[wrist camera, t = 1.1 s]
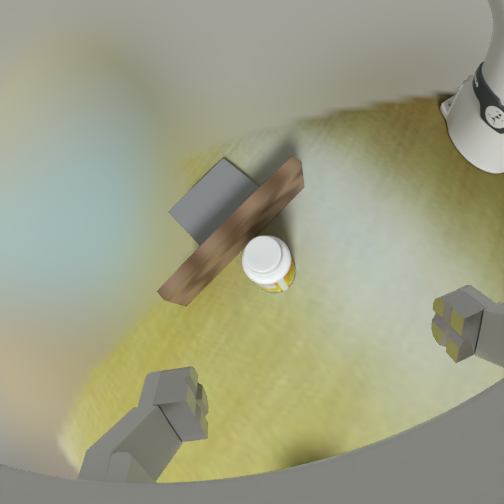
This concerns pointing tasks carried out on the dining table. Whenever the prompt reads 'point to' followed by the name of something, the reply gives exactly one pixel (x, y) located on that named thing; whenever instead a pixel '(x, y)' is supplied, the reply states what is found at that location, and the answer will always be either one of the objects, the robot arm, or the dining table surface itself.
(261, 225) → the walnut screen
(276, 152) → the dining table surface
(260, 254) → the supplement bottle
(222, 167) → the grey mat
